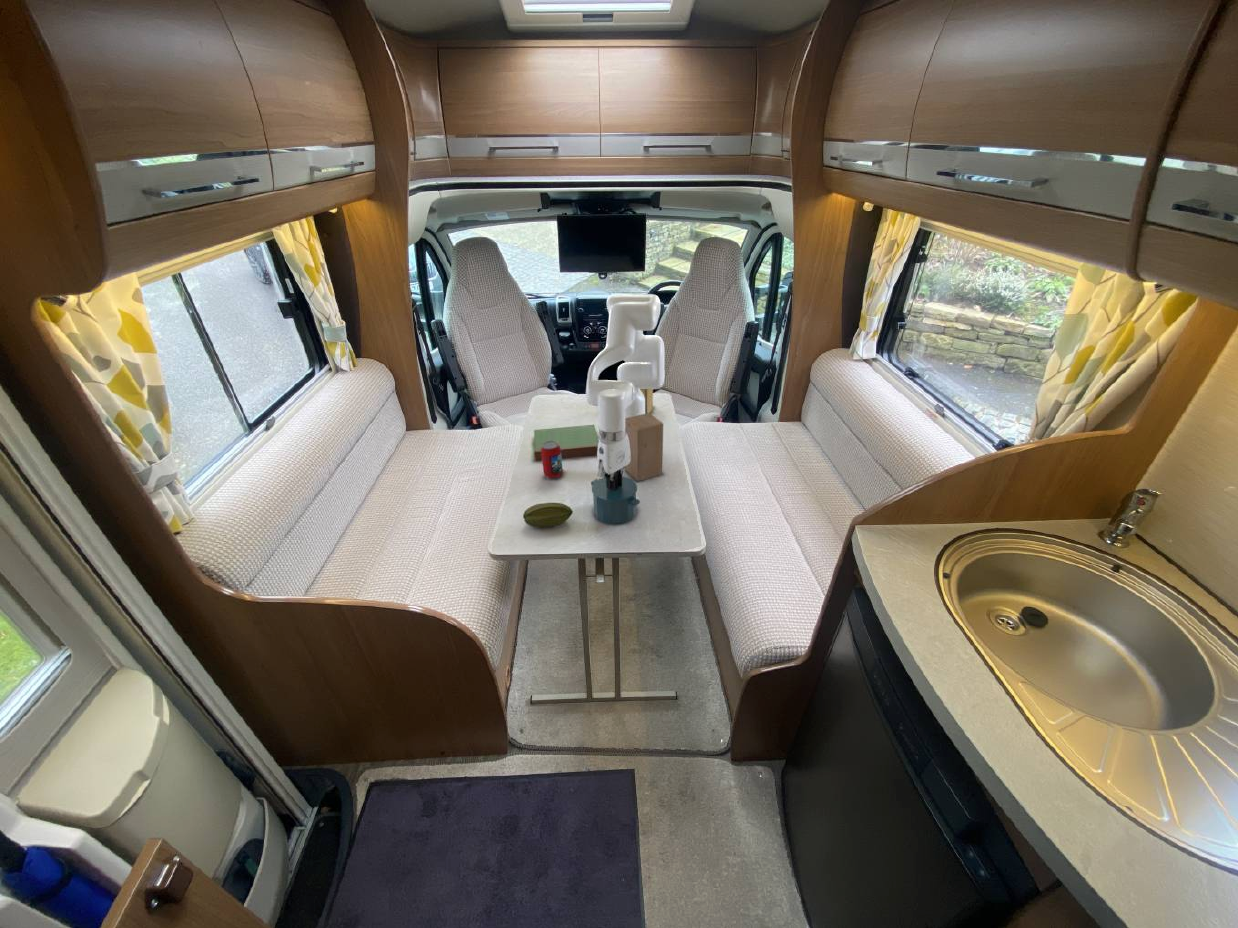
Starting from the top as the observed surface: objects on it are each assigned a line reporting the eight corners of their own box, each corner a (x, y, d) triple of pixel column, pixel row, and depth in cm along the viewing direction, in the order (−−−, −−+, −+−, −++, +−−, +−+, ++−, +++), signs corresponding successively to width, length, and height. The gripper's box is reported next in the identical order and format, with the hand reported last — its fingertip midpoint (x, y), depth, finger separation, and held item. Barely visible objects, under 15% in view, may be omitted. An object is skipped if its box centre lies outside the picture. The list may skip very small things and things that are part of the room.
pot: (608, 492, 165) (607, 470, 161) (651, 513, 154) (651, 490, 150) (580, 509, 157) (578, 486, 153) (622, 533, 146) (622, 509, 142)
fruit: (548, 508, 158) (546, 490, 155) (575, 522, 151) (574, 504, 148) (520, 525, 151) (518, 507, 147) (548, 541, 144) (546, 522, 141)
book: (535, 460, 185) (534, 452, 183) (535, 438, 201) (534, 430, 199) (602, 454, 188) (601, 445, 186) (596, 432, 204) (596, 424, 202)
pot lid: (613, 473, 160) (613, 457, 157) (646, 489, 152) (646, 472, 149) (582, 491, 152) (581, 474, 148) (615, 509, 143) (614, 491, 140)
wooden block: (637, 482, 170) (637, 429, 160) (624, 469, 178) (623, 418, 168) (662, 474, 174) (663, 423, 164) (648, 462, 182) (648, 412, 172)
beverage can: (559, 480, 173) (556, 449, 167) (541, 478, 174) (537, 448, 168) (565, 470, 178) (562, 440, 172) (547, 468, 180) (544, 439, 174)
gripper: (602, 446, 135) (604, 503, 144) (640, 426, 145) (641, 480, 154) (582, 438, 139) (586, 493, 148) (621, 419, 149) (623, 472, 158)
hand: (614, 486), depth 151 cm, fingers closed on pot lid, 2 cm apart
